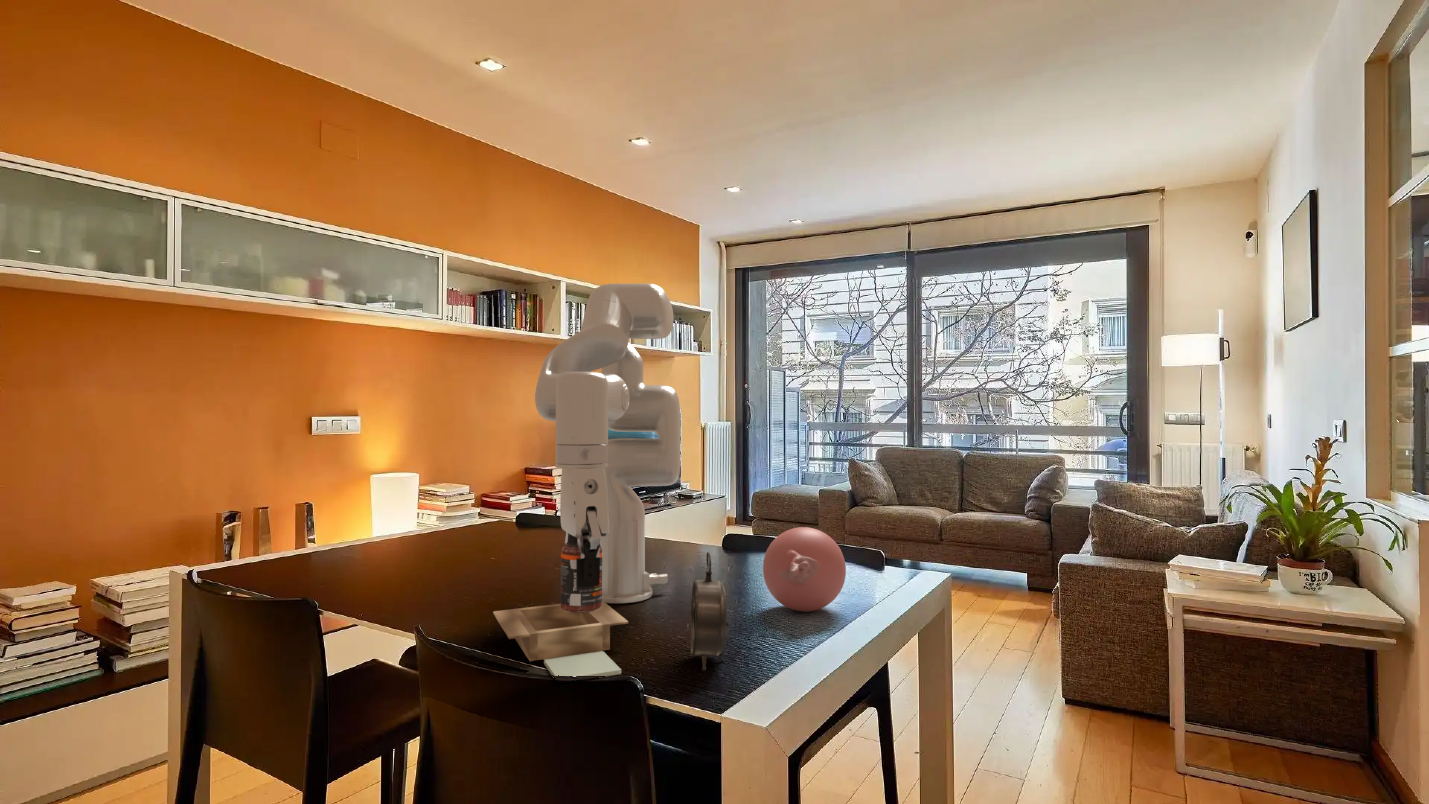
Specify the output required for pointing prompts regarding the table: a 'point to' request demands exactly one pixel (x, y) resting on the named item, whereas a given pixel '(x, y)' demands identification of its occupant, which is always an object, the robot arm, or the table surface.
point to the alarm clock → (708, 617)
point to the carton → (559, 630)
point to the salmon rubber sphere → (804, 569)
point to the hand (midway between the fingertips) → (581, 580)
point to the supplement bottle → (570, 592)
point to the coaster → (583, 665)
